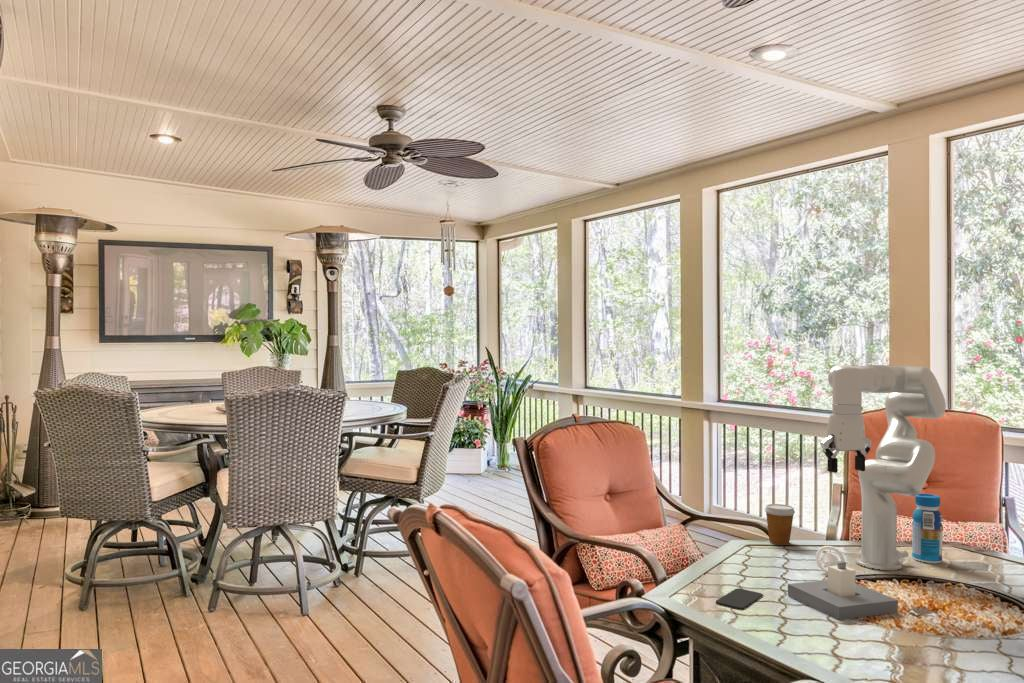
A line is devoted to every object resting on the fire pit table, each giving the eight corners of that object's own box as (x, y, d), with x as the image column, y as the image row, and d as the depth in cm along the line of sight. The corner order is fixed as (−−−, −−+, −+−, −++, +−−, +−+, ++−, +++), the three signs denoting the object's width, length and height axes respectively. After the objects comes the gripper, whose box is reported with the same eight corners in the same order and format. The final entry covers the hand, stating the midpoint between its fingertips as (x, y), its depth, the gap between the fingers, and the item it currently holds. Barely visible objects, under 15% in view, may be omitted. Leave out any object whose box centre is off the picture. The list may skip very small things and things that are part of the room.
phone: (764, 593, 192) (742, 608, 181) (764, 597, 192) (742, 611, 181) (737, 587, 197) (713, 601, 185) (737, 590, 197) (713, 604, 185)
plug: (842, 600, 190) (842, 559, 190) (855, 606, 185) (855, 564, 185) (827, 601, 188) (828, 560, 188) (840, 607, 184) (840, 565, 184)
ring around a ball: (846, 575, 211) (846, 547, 211) (841, 579, 207) (841, 551, 207) (817, 569, 216) (817, 542, 216) (811, 574, 212) (811, 546, 212)
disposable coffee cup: (789, 547, 240) (790, 510, 240) (760, 542, 246) (760, 506, 246) (798, 542, 248) (798, 506, 248) (769, 537, 254) (770, 502, 254)
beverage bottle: (905, 558, 230) (906, 493, 231) (923, 555, 234) (924, 492, 234) (930, 565, 223) (931, 498, 223) (949, 562, 226) (949, 497, 227)
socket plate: (843, 589, 198) (843, 578, 198) (897, 612, 181) (897, 600, 181) (787, 595, 192) (787, 583, 192) (838, 619, 175) (838, 607, 175)
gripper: (860, 409, 215) (860, 467, 215) (812, 409, 210) (811, 470, 209) (881, 411, 208) (880, 472, 208) (831, 412, 202) (831, 474, 202)
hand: (846, 471), depth 209 cm, fingers open, 9 cm apart
